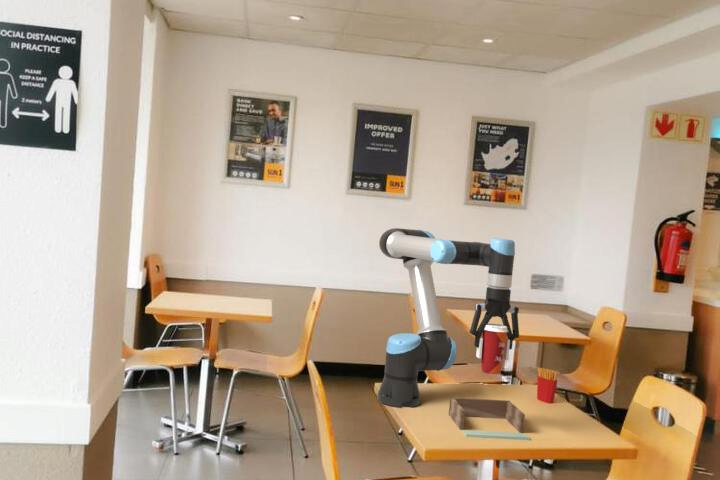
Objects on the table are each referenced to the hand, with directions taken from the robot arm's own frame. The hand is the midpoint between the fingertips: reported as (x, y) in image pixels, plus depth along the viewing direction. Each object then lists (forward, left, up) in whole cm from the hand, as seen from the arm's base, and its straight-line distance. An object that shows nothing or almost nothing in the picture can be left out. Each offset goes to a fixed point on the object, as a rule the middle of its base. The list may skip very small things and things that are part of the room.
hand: (492, 358), depth 195 cm
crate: (0, 0, -22) cm, 22 cm away
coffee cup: (0, 0, -4) cm, 4 cm away
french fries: (-35, +34, -22) cm, 54 cm away
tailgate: (+7, 0, -21) cm, 22 cm away
